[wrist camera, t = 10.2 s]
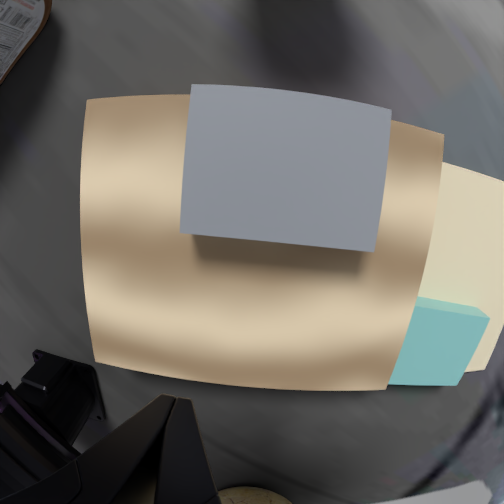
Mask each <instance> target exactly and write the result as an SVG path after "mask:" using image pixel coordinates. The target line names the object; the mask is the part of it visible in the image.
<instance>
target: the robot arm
mask: <svg viewBox="0 0 504 504" xmlns="http://www.w3.org/2000/svg"><path fill="white" fill-rule="evenodd" d="M32 354H33V358H34V362H35V364H34V366H33V367H32V368H31V369H30V370H29V371H28V372H27V373H26V374H25V375H24V376H23V377H22V378H21V381H22V382H21V384H20V385H19V386H18V387H17V388H16V389H15V390H13V389H12V386H11V385H10V384H9V383H8V381H7V382H6V383H5V384H4V385H2V384H0V504H222V503H221V499H220V496H218V491H217V487H216V484H215V481H214V478H213V475H212V471H211V468H210V464H209V461H208V458H207V454H206V451H205V447H204V443H203V440H202V436H201V432H200V428H199V425H198V421H197V417H196V413H195V409H194V405H193V401H192V399H190V398H184V397H177V398H176V397H175V396H173V395H168V394H160V395H159V396H157V397H156V398H155V399H154V400H152V401H151V402H150V403H149V404H147V405H146V406H145V407H143V408H142V409H141V410H140V411H138V412H137V413H136V414H135V415H133V416H132V417H131V418H129V419H128V420H127V421H125V422H124V423H123V424H122V425H120V426H119V427H118V428H116V429H115V430H114V431H112V432H111V433H110V434H108V435H107V436H106V437H104V438H103V439H102V440H100V441H99V442H98V443H96V444H95V445H93V446H92V447H91V448H89V449H88V450H87V451H85V452H84V453H83V454H81V453H80V452H78V451H77V450H76V449H75V448H73V447H72V445H73V443H74V441H75V440H76V438H77V436H78V435H79V433H80V431H81V430H82V428H83V426H84V424H85V423H86V421H87V419H88V418H91V419H94V420H97V421H101V422H103V421H104V419H105V413H104V410H103V406H102V402H101V398H100V394H99V390H98V386H97V382H96V377H95V373H94V369H93V368H92V367H91V366H90V365H88V364H84V363H80V362H77V361H73V360H70V359H66V358H63V357H59V356H56V355H53V354H50V353H47V352H43V351H40V350H37V349H36V350H35V351H34V352H33V353H32ZM87 370H88V371H87Z"/></svg>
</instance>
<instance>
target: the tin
mask: <svg viewBox="0 0 504 504" xmlns="http://www.w3.org/2000/svg"><path fill="white" fill-rule="evenodd" d="M51 6H52V0H0V85H1V83H2V82H3V80H4V79H5V78H6V76H7V75H8V73H9V72H10V71H11V69H12V68H13V66H14V65H15V64H16V62H17V61H18V60H19V58H20V57H21V56H22V55H23V53H24V52H25V51H26V50H27V48H28V47H29V46H30V45H31V43H32V42H33V41H34V40H35V39H36V37H37V36H38V35H39V33H40V32H41V30H42V29H43V27H44V25H45V24H46V22H47V20H48V17H49V14H50V11H51Z"/></svg>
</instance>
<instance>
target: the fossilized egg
mask: <svg viewBox="0 0 504 504" xmlns="http://www.w3.org/2000/svg"><path fill="white" fill-rule="evenodd" d="M218 496H220V499H221V503H222V504H292V503H291V502H290V501H289V500H287V499H286V498H284V497H283V496H281V495H279V494H277V493H274V492H272V491H270V490H266V489H262V488H257V487H232V488H227V489H224V490H221V491H218Z"/></svg>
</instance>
